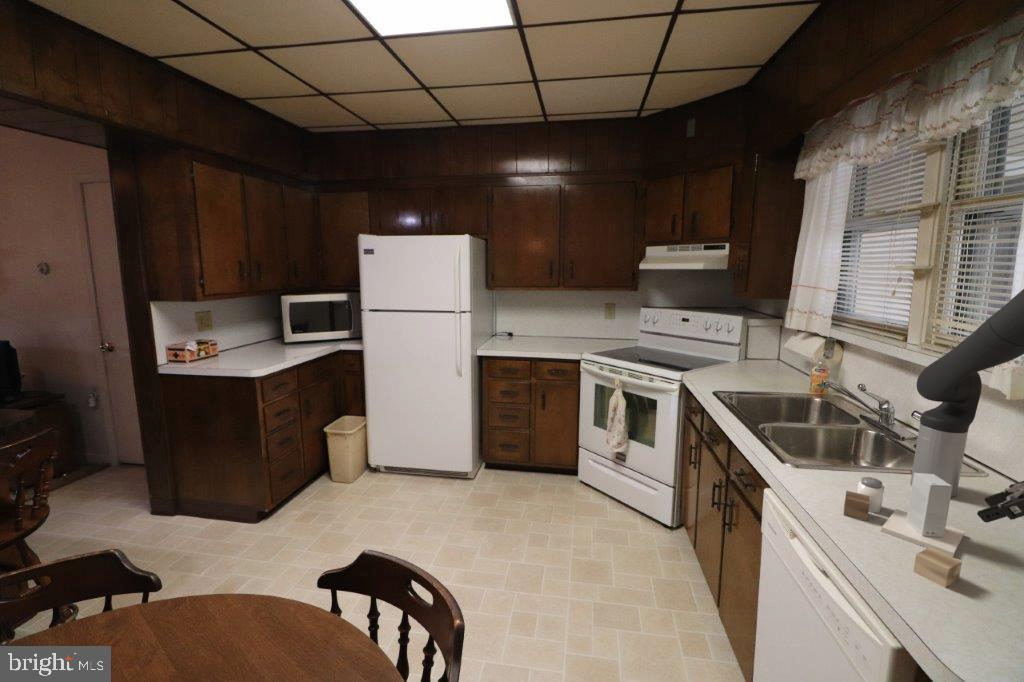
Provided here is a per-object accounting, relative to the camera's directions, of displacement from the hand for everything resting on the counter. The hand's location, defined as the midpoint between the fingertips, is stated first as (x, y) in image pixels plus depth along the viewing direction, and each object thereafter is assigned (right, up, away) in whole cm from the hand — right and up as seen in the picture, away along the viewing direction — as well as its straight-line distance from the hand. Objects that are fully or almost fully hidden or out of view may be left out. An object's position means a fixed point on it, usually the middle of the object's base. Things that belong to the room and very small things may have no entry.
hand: (984, 510), depth 97 cm
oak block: (-15, -11, -5) cm, 19 cm away
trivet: (-5, -8, +9) cm, 13 cm away
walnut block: (-14, -7, +17) cm, 23 cm away
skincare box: (-5, -7, +8) cm, 12 cm away
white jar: (-9, -6, +19) cm, 22 cm away
